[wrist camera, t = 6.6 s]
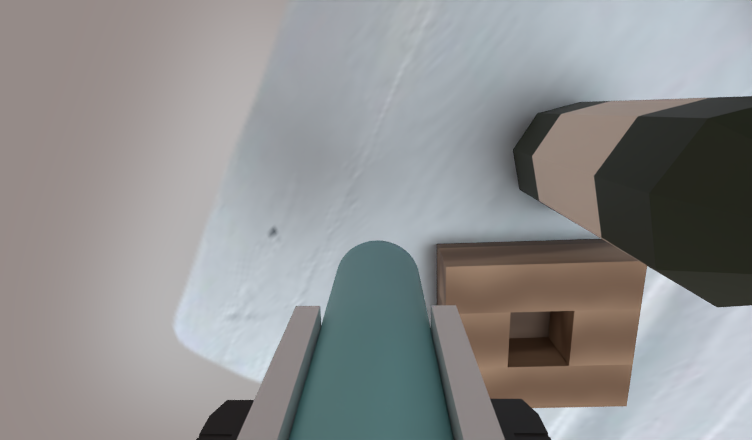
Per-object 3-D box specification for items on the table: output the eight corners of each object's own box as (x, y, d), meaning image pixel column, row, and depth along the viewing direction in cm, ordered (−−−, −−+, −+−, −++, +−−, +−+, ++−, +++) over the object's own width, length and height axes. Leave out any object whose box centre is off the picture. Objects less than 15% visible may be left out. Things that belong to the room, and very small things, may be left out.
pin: (333, 241, 17) (196, 603, 5) (419, 239, 17) (516, 603, 5) (338, 318, 18) (236, 791, 6) (419, 316, 18) (500, 794, 5)
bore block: (436, 244, 33) (445, 266, 29) (609, 238, 33) (647, 260, 28) (436, 370, 37) (444, 409, 32) (594, 366, 36) (626, 406, 31)
